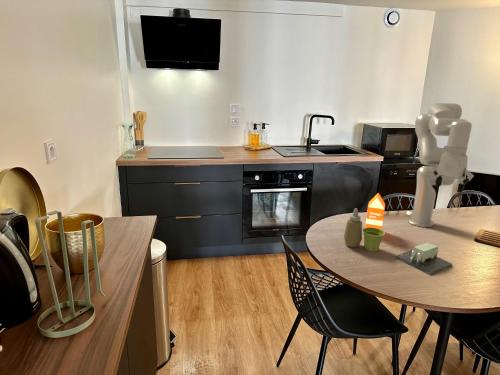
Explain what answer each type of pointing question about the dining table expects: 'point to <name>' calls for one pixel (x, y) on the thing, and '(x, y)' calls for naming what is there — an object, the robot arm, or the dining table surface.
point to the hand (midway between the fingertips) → (448, 189)
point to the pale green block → (425, 250)
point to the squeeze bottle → (353, 230)
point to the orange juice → (375, 212)
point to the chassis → (424, 262)
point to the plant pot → (372, 238)
